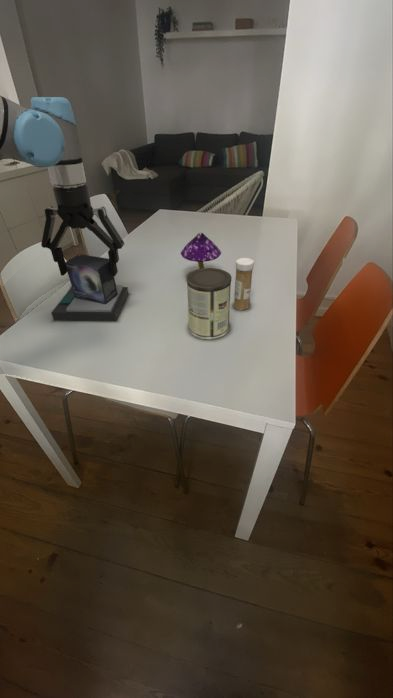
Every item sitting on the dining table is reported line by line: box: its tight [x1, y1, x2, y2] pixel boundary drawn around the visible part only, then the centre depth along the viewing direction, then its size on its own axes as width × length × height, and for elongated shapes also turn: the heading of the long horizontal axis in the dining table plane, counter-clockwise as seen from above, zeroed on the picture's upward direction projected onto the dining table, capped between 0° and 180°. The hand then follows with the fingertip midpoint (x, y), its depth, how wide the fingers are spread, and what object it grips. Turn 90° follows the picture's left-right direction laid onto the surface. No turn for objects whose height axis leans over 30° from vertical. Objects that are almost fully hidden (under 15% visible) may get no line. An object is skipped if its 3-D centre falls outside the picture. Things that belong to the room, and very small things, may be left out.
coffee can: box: [185, 267, 232, 340], centre depth 77 cm, size 10×10×14 cm
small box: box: [65, 253, 118, 304], centre depth 85 cm, size 11×6×10 cm, turn 68°
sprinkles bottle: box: [233, 257, 255, 311], centre depth 85 cm, size 5×5×14 cm
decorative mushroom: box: [180, 232, 222, 269], centre depth 98 cm, size 12×12×15 cm
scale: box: [50, 284, 130, 322], centre depth 89 cm, size 17×15×3 cm
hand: (89, 273), depth 84 cm, fingers open, 13 cm apart
